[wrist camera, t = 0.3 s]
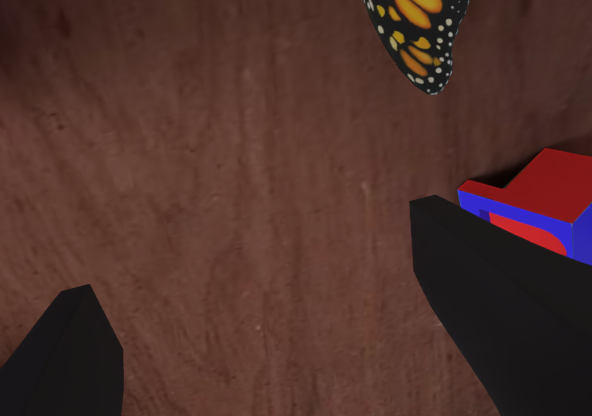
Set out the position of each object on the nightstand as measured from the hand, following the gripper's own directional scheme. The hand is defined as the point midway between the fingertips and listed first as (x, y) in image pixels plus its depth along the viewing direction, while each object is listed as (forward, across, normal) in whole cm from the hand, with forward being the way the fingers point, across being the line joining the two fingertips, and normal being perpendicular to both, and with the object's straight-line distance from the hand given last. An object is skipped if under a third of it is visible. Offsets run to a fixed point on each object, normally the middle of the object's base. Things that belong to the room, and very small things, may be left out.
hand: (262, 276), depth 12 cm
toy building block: (+10, -13, +7) cm, 18 cm away
